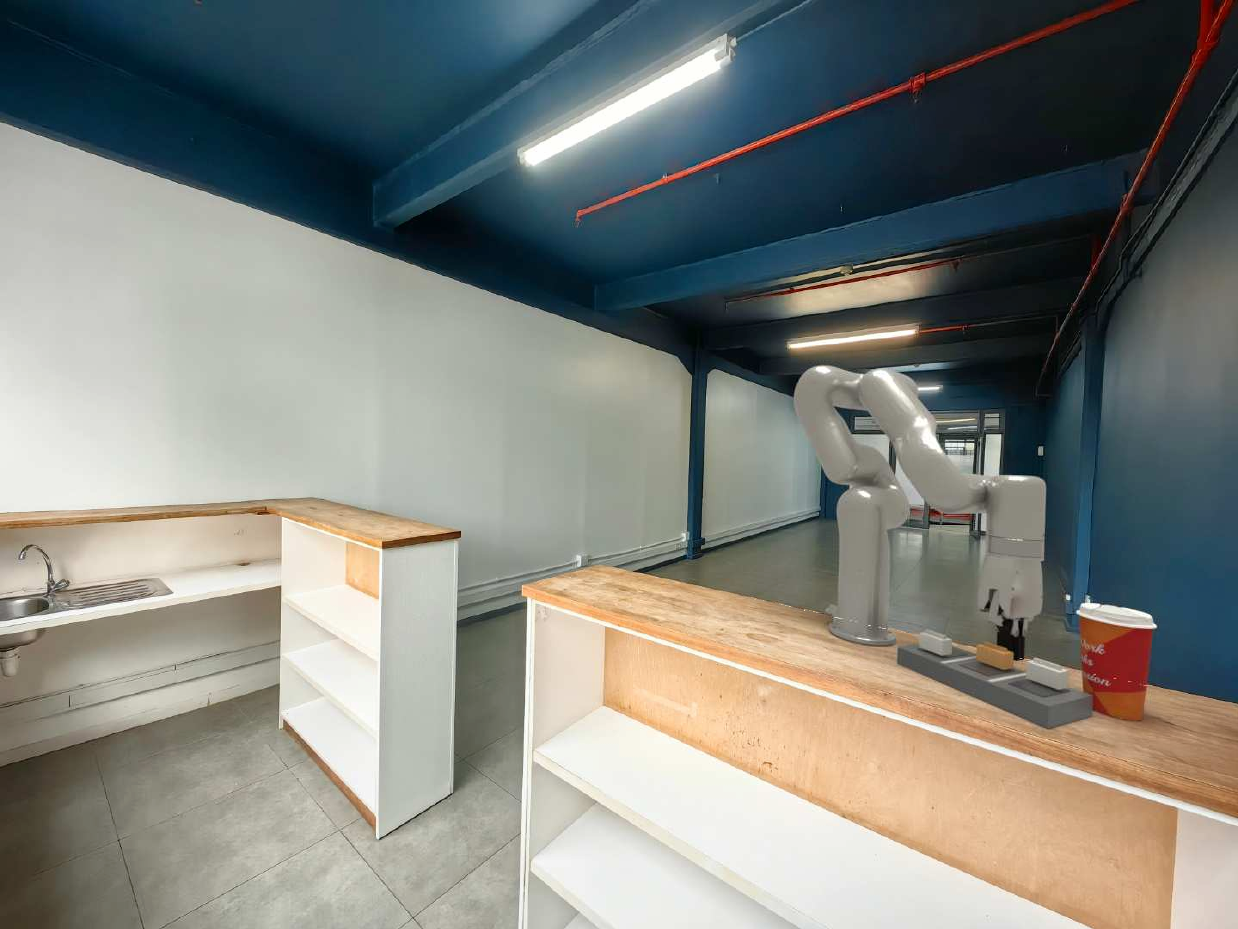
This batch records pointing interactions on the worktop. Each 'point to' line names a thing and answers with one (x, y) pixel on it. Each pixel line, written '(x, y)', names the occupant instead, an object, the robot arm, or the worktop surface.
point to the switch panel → (999, 686)
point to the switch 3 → (1047, 673)
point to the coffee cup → (1115, 658)
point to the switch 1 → (935, 642)
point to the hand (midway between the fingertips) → (1010, 657)
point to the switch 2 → (994, 655)
